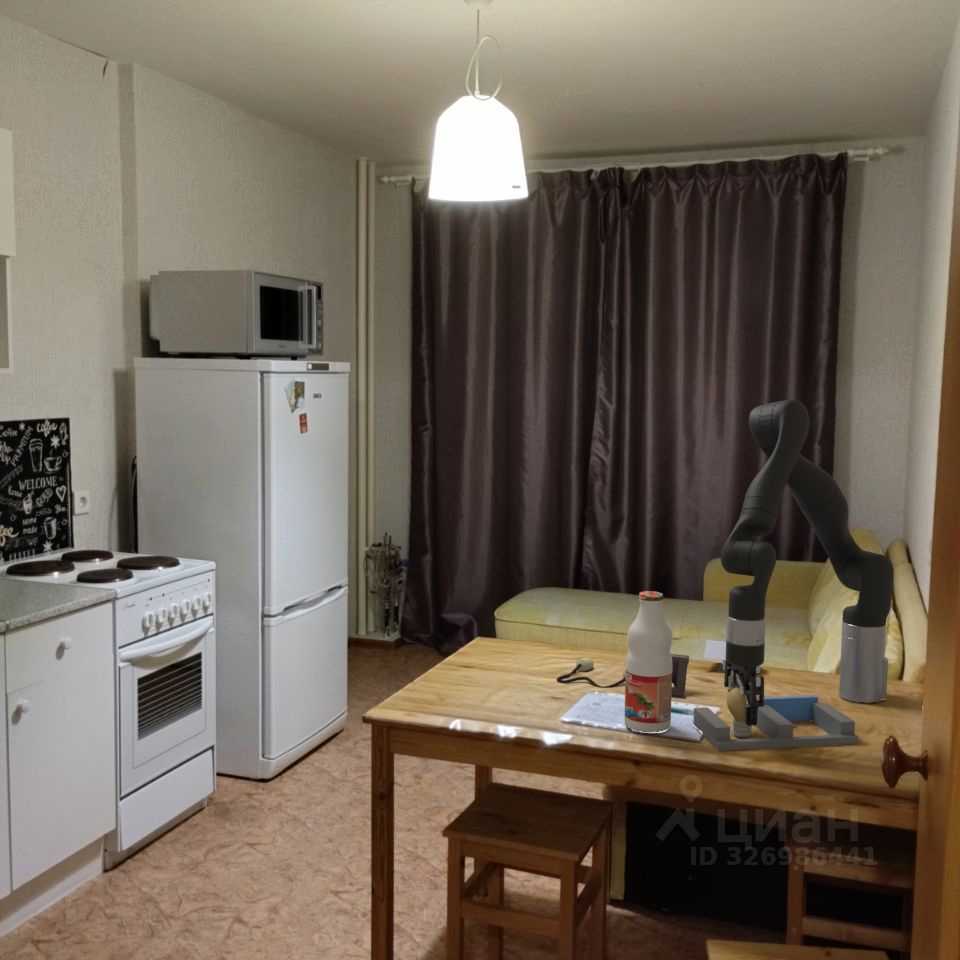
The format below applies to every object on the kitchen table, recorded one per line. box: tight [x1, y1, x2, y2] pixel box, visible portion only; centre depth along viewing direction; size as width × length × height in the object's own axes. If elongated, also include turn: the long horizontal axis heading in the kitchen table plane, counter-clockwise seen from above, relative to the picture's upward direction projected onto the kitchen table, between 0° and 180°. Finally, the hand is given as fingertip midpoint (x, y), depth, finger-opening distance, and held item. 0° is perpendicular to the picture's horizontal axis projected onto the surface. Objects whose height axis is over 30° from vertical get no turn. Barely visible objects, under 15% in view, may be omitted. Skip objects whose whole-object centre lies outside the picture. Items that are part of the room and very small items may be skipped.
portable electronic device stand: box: [670, 653, 690, 698], centre depth 239 cm, size 9×8×8 cm
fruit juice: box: [624, 590, 673, 732], centre depth 214 cm, size 9×9×28 cm
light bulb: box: [726, 687, 759, 738], centre depth 211 cm, size 6×6×10 cm
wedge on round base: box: [702, 639, 761, 673], centre depth 258 cm, size 9×7×13 cm
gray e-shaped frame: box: [692, 694, 859, 752], centre depth 212 cm, size 29×15×5 cm, turn 99°
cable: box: [556, 657, 626, 689], centre depth 248 cm, size 16×16×4 cm
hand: (742, 718), depth 211 cm, fingers open, 8 cm apart
